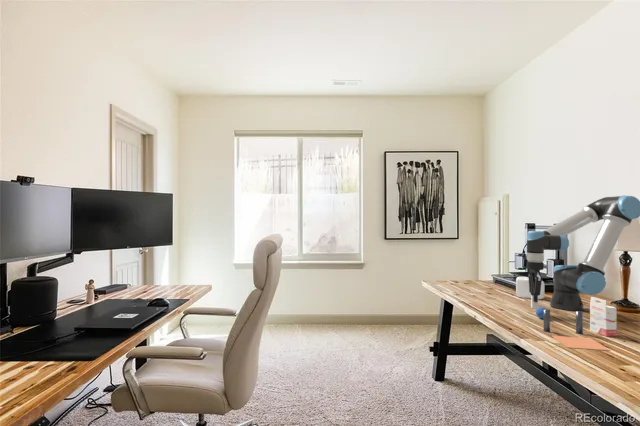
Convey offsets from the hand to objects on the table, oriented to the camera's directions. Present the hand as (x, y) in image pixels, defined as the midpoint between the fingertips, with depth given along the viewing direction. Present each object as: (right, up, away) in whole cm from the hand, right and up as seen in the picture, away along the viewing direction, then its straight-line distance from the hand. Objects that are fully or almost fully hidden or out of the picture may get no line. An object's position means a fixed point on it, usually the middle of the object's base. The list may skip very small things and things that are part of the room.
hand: (534, 308), depth 188 cm
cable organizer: (+20, -4, +40) cm, 45 cm away
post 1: (-12, -2, -30) cm, 32 cm away
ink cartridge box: (+10, -3, -32) cm, 34 cm away
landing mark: (-9, -2, -45) cm, 45 cm away
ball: (-2, 0, -9) cm, 9 cm away
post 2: (0, -2, -32) cm, 32 cm away
